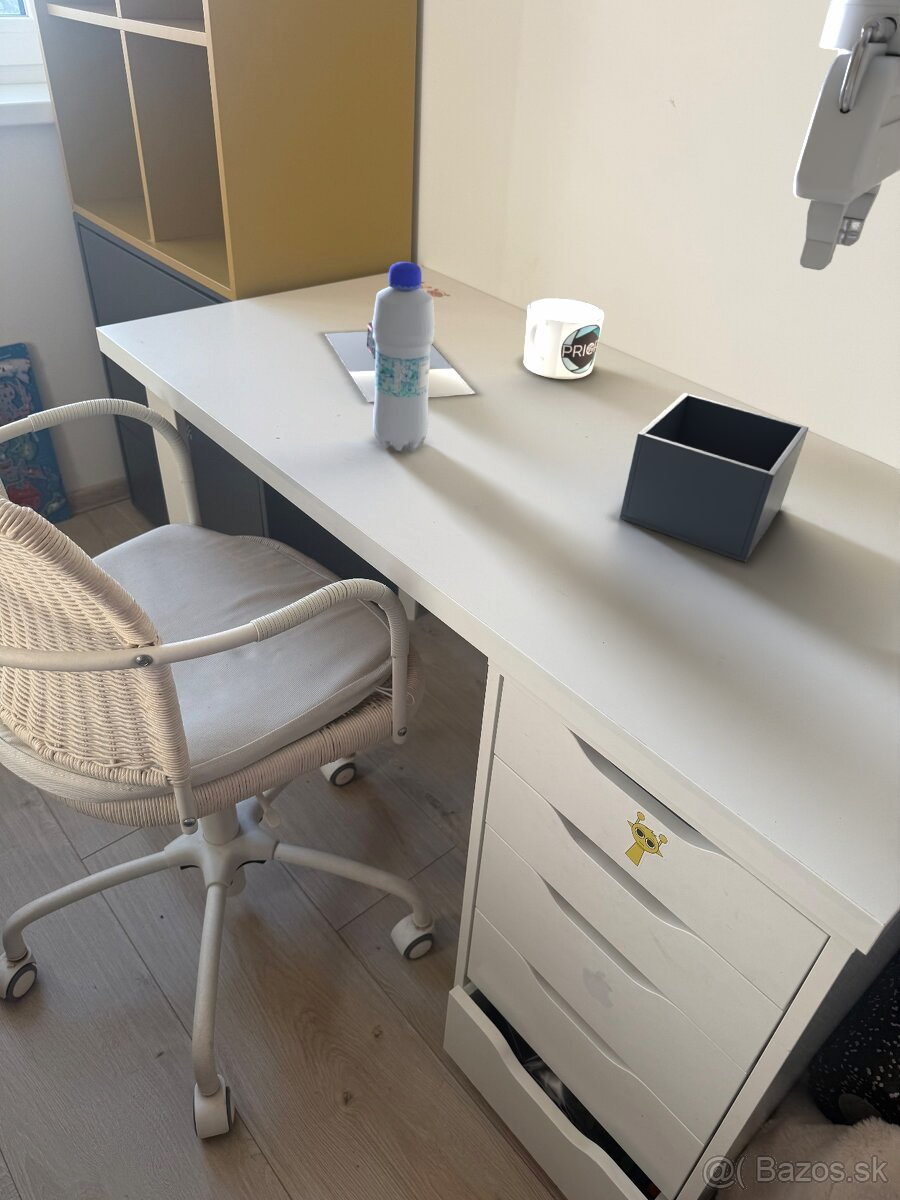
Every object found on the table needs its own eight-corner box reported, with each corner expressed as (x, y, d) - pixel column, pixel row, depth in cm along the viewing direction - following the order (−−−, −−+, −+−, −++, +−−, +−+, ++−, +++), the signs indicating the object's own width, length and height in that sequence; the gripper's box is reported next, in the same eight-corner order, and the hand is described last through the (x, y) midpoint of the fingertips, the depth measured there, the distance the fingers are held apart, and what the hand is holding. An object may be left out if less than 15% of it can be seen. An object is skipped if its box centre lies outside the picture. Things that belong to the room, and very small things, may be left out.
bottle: (427, 457, 93) (437, 274, 81) (368, 453, 93) (369, 269, 81) (430, 431, 99) (439, 256, 87) (373, 427, 99) (375, 251, 87)
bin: (780, 508, 89) (809, 427, 84) (744, 562, 80) (774, 475, 74) (664, 471, 94) (684, 392, 89) (619, 518, 85) (637, 433, 80)
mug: (548, 347, 125) (556, 292, 120) (608, 368, 119) (618, 311, 115) (493, 369, 116) (499, 311, 111) (555, 392, 111) (564, 332, 106)
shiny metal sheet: (368, 402, 104) (368, 369, 102) (324, 333, 123) (324, 305, 120) (475, 393, 109) (478, 362, 106) (417, 329, 127) (419, 301, 125)
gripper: (932, 20, 43) (844, 294, 51) (973, 26, 57) (899, 239, 65) (809, 13, 45) (743, 274, 54) (877, 20, 60) (817, 225, 68)
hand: (829, 254), depth 60 cm, fingers open, 8 cm apart
